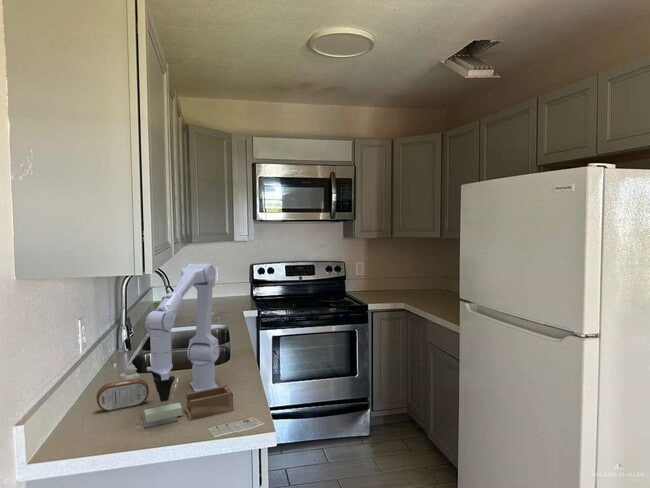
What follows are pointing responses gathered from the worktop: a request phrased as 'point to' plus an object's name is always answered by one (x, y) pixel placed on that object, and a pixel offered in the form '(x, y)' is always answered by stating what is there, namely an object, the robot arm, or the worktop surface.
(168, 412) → the sage bar
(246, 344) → the worktop surface
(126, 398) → the tin
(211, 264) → the robot arm
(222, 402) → the pocket block
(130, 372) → the white tapered cone
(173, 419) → the mat
